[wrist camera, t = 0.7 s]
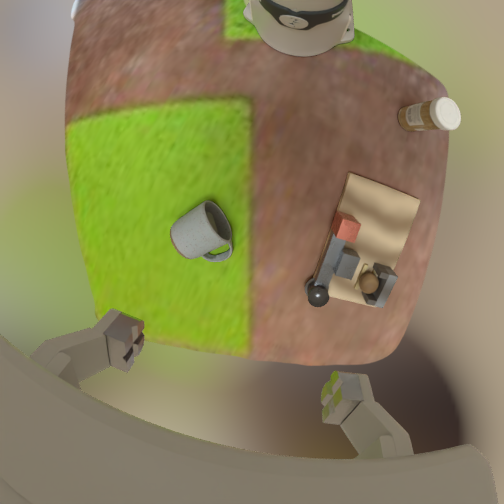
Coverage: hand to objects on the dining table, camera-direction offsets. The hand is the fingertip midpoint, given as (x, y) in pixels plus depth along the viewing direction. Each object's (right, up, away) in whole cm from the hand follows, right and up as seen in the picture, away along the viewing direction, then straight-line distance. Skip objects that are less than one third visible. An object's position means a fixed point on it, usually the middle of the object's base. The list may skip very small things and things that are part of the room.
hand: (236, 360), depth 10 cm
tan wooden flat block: (+21, +6, +35) cm, 41 cm away
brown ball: (+21, 0, +35) cm, 41 cm away
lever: (+15, +3, +35) cm, 38 cm away
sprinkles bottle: (+27, +27, +26) cm, 46 cm away
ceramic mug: (-6, +8, +38) cm, 39 cm away
